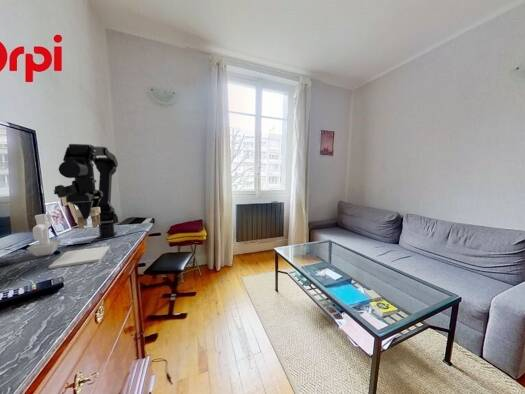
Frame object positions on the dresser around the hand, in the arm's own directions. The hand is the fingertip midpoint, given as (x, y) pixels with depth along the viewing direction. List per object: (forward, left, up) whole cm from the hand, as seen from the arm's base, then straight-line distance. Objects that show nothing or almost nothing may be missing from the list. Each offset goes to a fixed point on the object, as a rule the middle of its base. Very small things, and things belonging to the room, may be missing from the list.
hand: (89, 217), depth 79 cm
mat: (+8, -1, -13) cm, 15 cm away
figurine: (-3, -15, -13) cm, 20 cm away
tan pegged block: (0, 0, -4) cm, 4 cm away
